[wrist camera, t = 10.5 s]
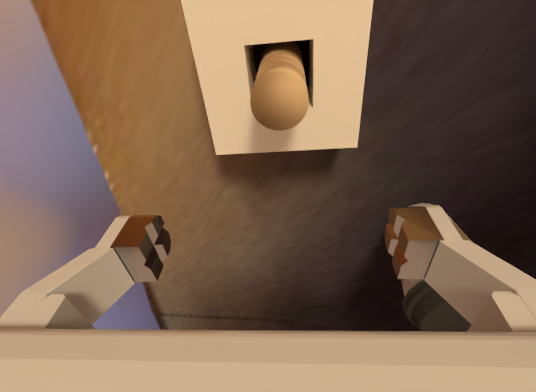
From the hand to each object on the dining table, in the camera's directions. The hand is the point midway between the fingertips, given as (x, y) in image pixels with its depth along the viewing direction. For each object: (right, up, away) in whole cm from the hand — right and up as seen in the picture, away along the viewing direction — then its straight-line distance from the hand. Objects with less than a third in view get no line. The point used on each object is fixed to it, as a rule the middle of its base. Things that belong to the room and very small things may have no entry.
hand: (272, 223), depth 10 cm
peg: (+1, +15, +19) cm, 24 cm away
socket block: (+1, +15, +19) cm, 24 cm away
